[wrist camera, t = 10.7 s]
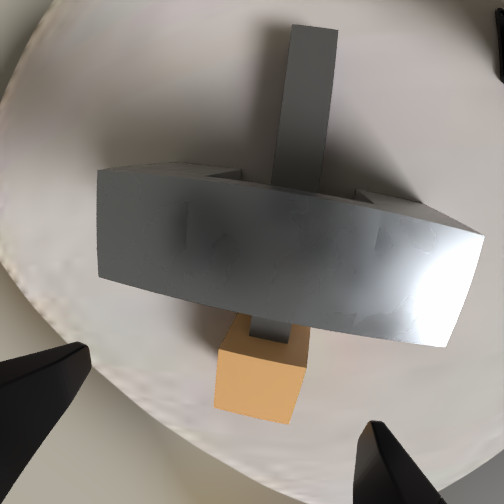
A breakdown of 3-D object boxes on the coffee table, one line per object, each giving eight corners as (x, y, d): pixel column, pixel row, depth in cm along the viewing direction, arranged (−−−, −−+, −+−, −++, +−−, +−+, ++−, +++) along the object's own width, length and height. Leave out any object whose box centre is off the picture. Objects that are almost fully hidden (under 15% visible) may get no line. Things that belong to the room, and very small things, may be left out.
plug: (275, 40, 16) (260, 7, 11) (356, 52, 15) (367, 20, 11) (231, 371, 24) (213, 414, 19) (294, 385, 23) (286, 431, 18)
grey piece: (175, 161, 19) (97, 170, 12) (423, 204, 17) (484, 235, 10) (169, 235, 21) (98, 276, 14) (405, 279, 19) (445, 347, 11)
